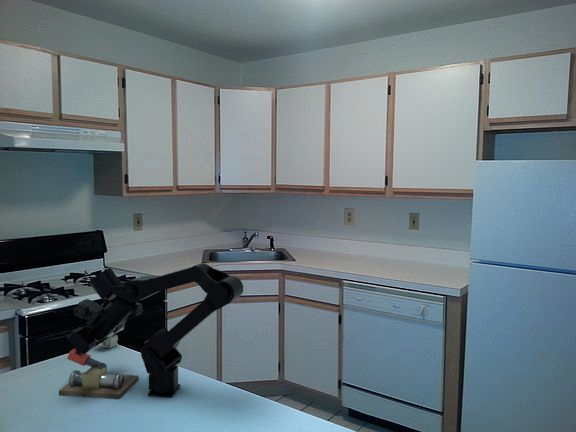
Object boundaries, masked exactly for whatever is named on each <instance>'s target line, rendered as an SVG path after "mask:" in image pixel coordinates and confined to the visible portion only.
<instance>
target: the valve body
mask: <svg viewBox="0 0 576 432" xmlns="http://www.w3.org/2000/svg"><path fill="white" fill-rule="evenodd" d="M83 372H84V371H83ZM83 372H81V370H75V369H74V370H73V371H71V373H69V374H70V375H69V377H68V383H69V385H70V386H75V385H82V388H83V389H95V390H99V389H100V388H101V387H114V389H119V388H120V387H122V386H123V384H124V379H125V377H124V375H125V374H124V373H123V372H117V373H115V374H116V375H110V374H111V373H108V367H107V368H97V367H90V368H88V369H87V370H86V371H85V372H84V373H83Z"/></svg>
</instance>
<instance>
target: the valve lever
mask: <svg viewBox="0 0 576 432" xmlns="http://www.w3.org/2000/svg"><path fill="white" fill-rule="evenodd" d="M75 349H76V348H75V347H74V348H73V349H71V350H70V351H69V353H68V355H67V358H66V359H67V360H69V361H71V362H73V363H76V364H78V365H80V366H82V367H86V366H88V367H90V368H91V367H97V368H107V369H108V365H107V364H106V363H105V362H101V361H98V360H96V359H94V358H92V355H91V354H88V353H86V354H81V353H80V352H79V353H77V352H76V351H75Z"/></svg>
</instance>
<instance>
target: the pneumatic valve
mask: <svg viewBox="0 0 576 432" xmlns="http://www.w3.org/2000/svg"><path fill="white" fill-rule="evenodd" d="M127 320H128V316H127V317H126V318H125V319H124V322H123V327H122V328H121V329H120V330H119V331H118V332H116V333H115V334H114V333H111V334H110V335H108V336H107V337H108V339H106V340H105V341H103V342H102V343H101V347H102V348H108V349H112V348H114V347H116V346H118V340H119V337H118V336H119V335H118V334H117V333H119V332H121V331H123V330H125V326H126V325H125V324H126V323H127ZM114 330H116V329H114Z"/></svg>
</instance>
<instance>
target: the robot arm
mask: <svg viewBox="0 0 576 432" xmlns="http://www.w3.org/2000/svg"><path fill="white" fill-rule="evenodd" d="M190 283H196V284H197V285H198V286H199V287H200V288H201V289H202V291H204V293H206V295H205V296H204V299H203V300H202V301H201V303H199V304H198V305H197V306H196V307H195V308H193V310H191V311H190V312H189V313H187V314H186V315H185V316H184V317H183V318H182V319H181V320H180V321H179V322H177V323H176V324H175V325H174V326H173V327H171V328H170V329H169V330H168V328H167V327H164V328H162V329H161V330H159V331H157V332H156V333H154V334H153V335H151V336H150V338H149V339H148V340H146V341H144V342H142V344H143V346H142V347H141V349H140V356H141V359H142V361H143V364H144V367H145V370H146V373H147V374H148V390H149V392H147V396H148V397H160V398H162V397H163V398H173V396H174V395H175V394H176V392H177V391H178V390H179V389H180V388H181V384H180V383H179V365H178V364H180V363H181V362H182V359H183V355H182V353H181V352H180V351H179V350H178V349H177V347H178V346H179V344H180V342H181V341H182V340H183V339H184V338H186V336H188V335H189V334H190V333H192V331H193V330H195V329H196V328H197V327H198V326H199V325H201V323H203V322H205V320H206V319H208V318H209V317H210V316H211V315H213V314H214V313H215V312H217V311H218V310H220V309H222V308H223V307H225V306H227V305H229V304H230V303H232V302H233V301H235V300H237V299H238V298H240V297H241V296H242V295H243V294H244V284H243V281H242V280H241V279H240V278H239V277H237V276H234V275H229V274H228V273H226V272H225V271H222V270H219V269H216V268H214V267H212V266H210V265H209V264H207V263H204V262H201V263H198V264H195V265H193V266H191V267H187V268H183V269H179V270H175V271H172V272H169V273H164V274H162V275H142V276H139V277H136V278H134V279H130V280H125V281H123V282H122V281H121V280H120V278H118V276H117V275H116V274H115V272H114V271H113V269H112V268H111V267H108V268H105V269H103V271H102V272H99V273H98V274H97V275H95V276H94V277H92V278H91V279H90V281H89V283H88V284H89V286H90V287H92V289H93V290H94V291H95V293H97V295H98V297H99V298H100V299H101V300H102V301H105V300H107V301H110V302H109V303H108V304H107V305H106V306H105V307H103V306H102V305H100V304H99V303H97V302H95V301H93V300H91V299H89V298H85V299H84V300H81V301H79V302H78V303H76V306H75V307H73V314H74V316H76V317H78V318H79V319H84V320H86V325H87V326H86V327H87V328H86V327H78V328H75V329H74V330H72V331H71V332H70V333H69V334H68V335H67V337H66V339H67V340H68V342H69V343H71V345H72V346H73V347H74V348H75V351H76V352H77V353H79V352H80V353H81V354H88V353H89V352H91V351H92V350H93V349H94V348H96V347H97V346H99V345H100V344H102V342H103V341H105V340H106V339H108V337H107V336H108V335H110V334H111V333H114V334H113V335H116V334H117V333H119V332H120V331H119V330H120V329H121V328H122V327H123V322H124V319H125V318H126V317H127V318H128V317H129V316H130V314H131V313H132V315H133V316H138V315H140V314H142V313H143V303H139V302H140V301H142V300H145V299H146V298H149V297H151V296H153V295H156V294H158V293H159V292H161V291H165V290H168V289H173V288H177V287H180V286H183V285H186V284H190ZM111 300H112V301H111ZM114 329H116V330H114ZM118 331H119V332H118ZM116 332H117V333H116ZM115 333H116V334H115Z"/></svg>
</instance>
